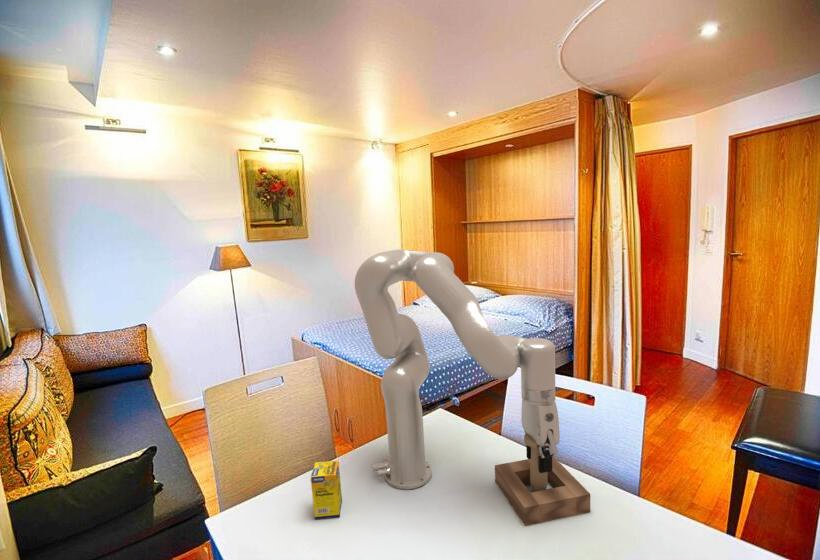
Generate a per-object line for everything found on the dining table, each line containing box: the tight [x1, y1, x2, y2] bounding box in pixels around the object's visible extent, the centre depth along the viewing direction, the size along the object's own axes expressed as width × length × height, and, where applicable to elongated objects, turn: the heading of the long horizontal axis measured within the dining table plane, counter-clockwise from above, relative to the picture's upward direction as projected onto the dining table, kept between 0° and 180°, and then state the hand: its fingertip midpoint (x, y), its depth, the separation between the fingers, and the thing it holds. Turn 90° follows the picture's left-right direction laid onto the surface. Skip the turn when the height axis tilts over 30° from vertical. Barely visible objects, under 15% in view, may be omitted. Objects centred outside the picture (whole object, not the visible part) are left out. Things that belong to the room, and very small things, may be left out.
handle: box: [523, 433, 548, 493], centre depth 97 cm, size 5×6×15 cm
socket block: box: [494, 455, 591, 527], centre depth 97 cm, size 16×16×4 cm
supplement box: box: [310, 460, 343, 521], centre depth 96 cm, size 6×6×11 cm
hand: (539, 463), depth 96 cm, fingers open, 5 cm apart
